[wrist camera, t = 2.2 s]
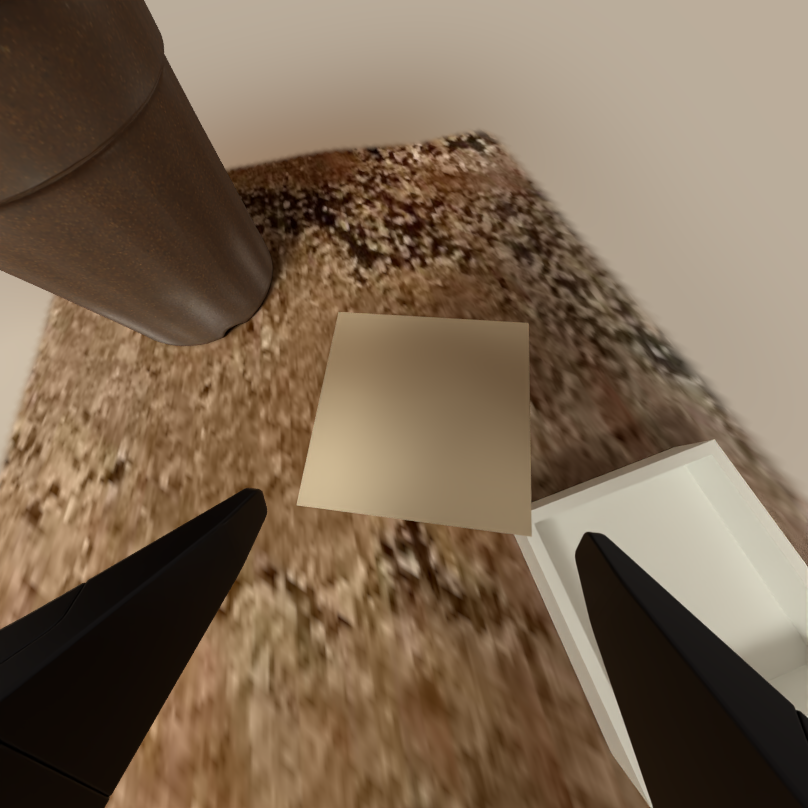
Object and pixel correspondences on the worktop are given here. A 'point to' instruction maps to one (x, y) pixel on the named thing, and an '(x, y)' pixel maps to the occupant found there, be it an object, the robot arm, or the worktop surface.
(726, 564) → the tray
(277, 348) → the worktop surface
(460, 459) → the beech block
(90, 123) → the plant pot
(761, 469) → the worktop surface
